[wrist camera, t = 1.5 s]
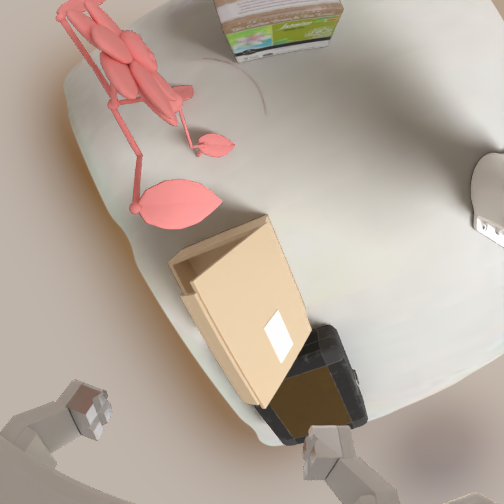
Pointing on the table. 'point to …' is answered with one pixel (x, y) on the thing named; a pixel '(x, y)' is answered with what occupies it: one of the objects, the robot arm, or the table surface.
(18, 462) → the robot arm
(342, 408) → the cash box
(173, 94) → the figurine
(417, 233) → the table surface
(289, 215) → the table surface
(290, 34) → the tea box
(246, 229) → the mailer box
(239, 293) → the lid
